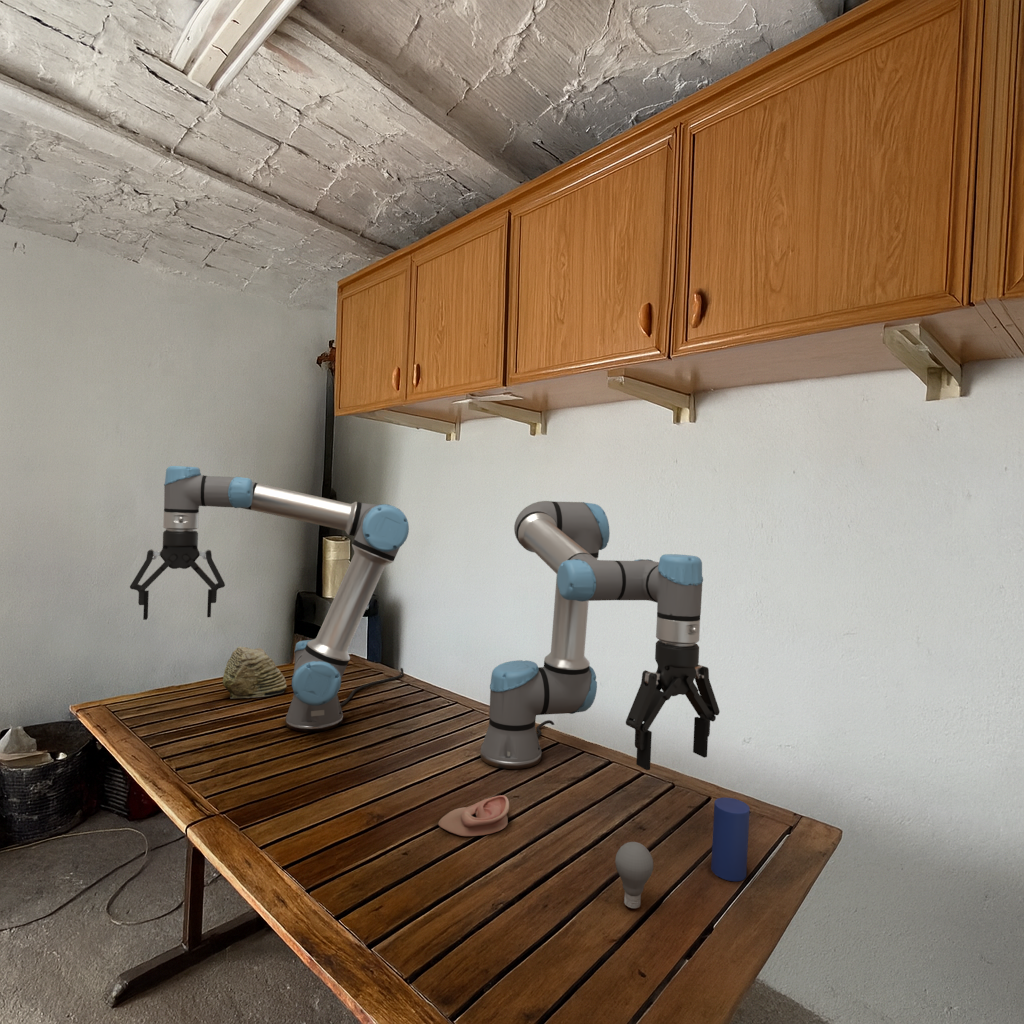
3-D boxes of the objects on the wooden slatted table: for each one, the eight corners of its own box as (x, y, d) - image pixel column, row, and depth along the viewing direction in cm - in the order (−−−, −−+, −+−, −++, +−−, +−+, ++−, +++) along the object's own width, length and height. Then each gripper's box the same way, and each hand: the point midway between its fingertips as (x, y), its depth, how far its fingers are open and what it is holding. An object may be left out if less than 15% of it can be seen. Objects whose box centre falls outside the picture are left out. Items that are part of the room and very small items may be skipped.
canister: (703, 866, 114) (707, 800, 114) (728, 859, 117) (731, 795, 117) (729, 884, 109) (732, 816, 109) (753, 876, 111) (757, 809, 111)
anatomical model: (433, 811, 121) (451, 785, 132) (432, 831, 121) (450, 804, 133) (501, 821, 119) (513, 794, 130) (500, 842, 119) (512, 813, 130)
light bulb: (609, 894, 104) (612, 834, 104) (645, 894, 105) (647, 834, 105) (618, 918, 98) (621, 854, 98) (656, 918, 99) (659, 854, 99)
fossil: (218, 695, 195) (220, 647, 195) (278, 685, 208) (279, 640, 207) (228, 703, 189) (230, 653, 188) (289, 692, 201) (290, 645, 201)
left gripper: (118, 530, 144) (115, 622, 145) (237, 531, 155) (234, 618, 156) (122, 528, 151) (119, 616, 151) (236, 530, 162) (233, 612, 162)
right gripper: (637, 651, 103) (632, 781, 103) (742, 641, 115) (737, 757, 116) (608, 642, 110) (603, 764, 110) (711, 633, 122) (706, 742, 122)
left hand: (177, 617), depth 154 cm, fingers open, 13 cm apart
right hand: (672, 760), depth 113 cm, fingers open, 13 cm apart
